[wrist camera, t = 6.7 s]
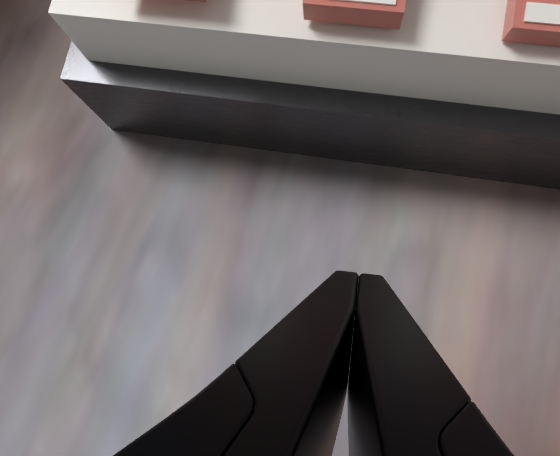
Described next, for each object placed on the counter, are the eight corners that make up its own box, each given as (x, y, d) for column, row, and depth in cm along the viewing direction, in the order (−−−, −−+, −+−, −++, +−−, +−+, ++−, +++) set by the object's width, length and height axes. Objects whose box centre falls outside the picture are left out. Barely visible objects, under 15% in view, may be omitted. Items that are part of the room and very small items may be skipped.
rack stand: (594, 26, 23) (666, -54, 19) (588, 192, 22) (666, 152, 17) (150, -16, 26) (112, -94, 21) (111, 129, 24) (60, 78, 20)
